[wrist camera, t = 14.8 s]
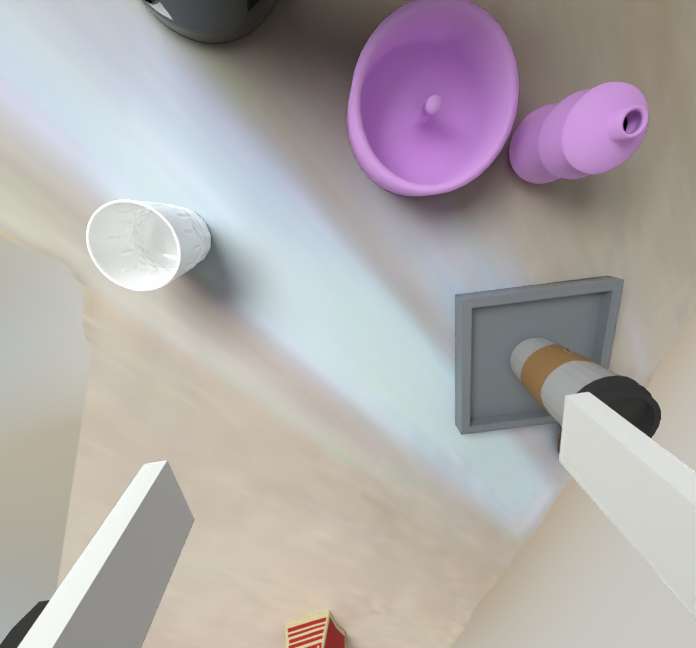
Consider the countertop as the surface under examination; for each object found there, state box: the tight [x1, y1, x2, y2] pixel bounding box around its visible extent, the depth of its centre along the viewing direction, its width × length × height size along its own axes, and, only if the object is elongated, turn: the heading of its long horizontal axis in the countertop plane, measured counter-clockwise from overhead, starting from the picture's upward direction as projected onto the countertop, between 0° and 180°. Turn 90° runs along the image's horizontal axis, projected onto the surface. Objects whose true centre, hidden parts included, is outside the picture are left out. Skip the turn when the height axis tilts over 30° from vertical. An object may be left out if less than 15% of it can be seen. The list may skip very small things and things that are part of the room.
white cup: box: [86, 200, 211, 291], centre depth 34 cm, size 8×8×10 cm
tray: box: [455, 276, 624, 435], centre depth 45 cm, size 20×20×2 cm
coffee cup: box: [510, 338, 661, 438], centre depth 38 cm, size 8×8×15 cm
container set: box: [347, 0, 649, 196], centre depth 30 cm, size 25×15×13 cm, turn 79°
